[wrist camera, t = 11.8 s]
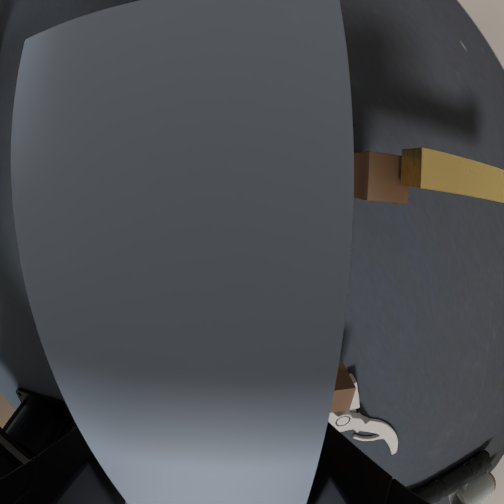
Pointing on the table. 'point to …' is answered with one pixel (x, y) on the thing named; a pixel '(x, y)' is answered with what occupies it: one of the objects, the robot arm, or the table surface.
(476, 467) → the flashlight
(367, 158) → the brown wooden stand
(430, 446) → the table surface
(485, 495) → the ceramic mug
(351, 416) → the pliers
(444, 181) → the bar
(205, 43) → the peg
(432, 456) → the table surface
